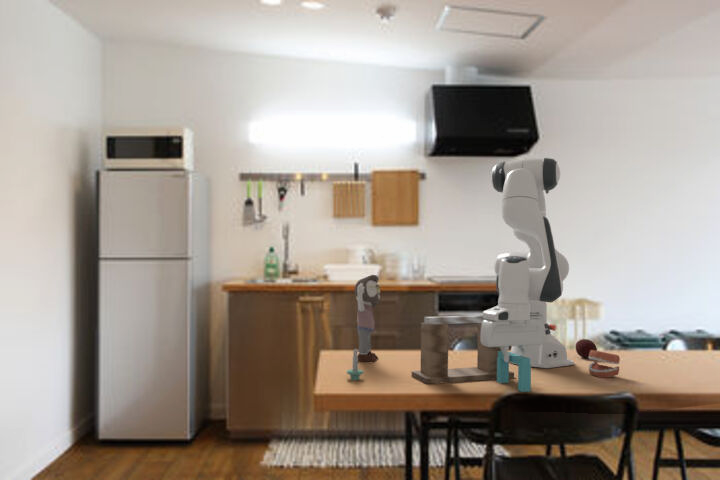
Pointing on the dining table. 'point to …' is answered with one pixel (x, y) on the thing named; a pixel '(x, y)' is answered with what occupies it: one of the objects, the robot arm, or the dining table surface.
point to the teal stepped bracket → (523, 370)
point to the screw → (355, 367)
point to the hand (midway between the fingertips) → (513, 361)
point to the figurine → (366, 315)
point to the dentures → (601, 369)
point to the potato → (585, 347)
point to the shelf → (437, 353)
